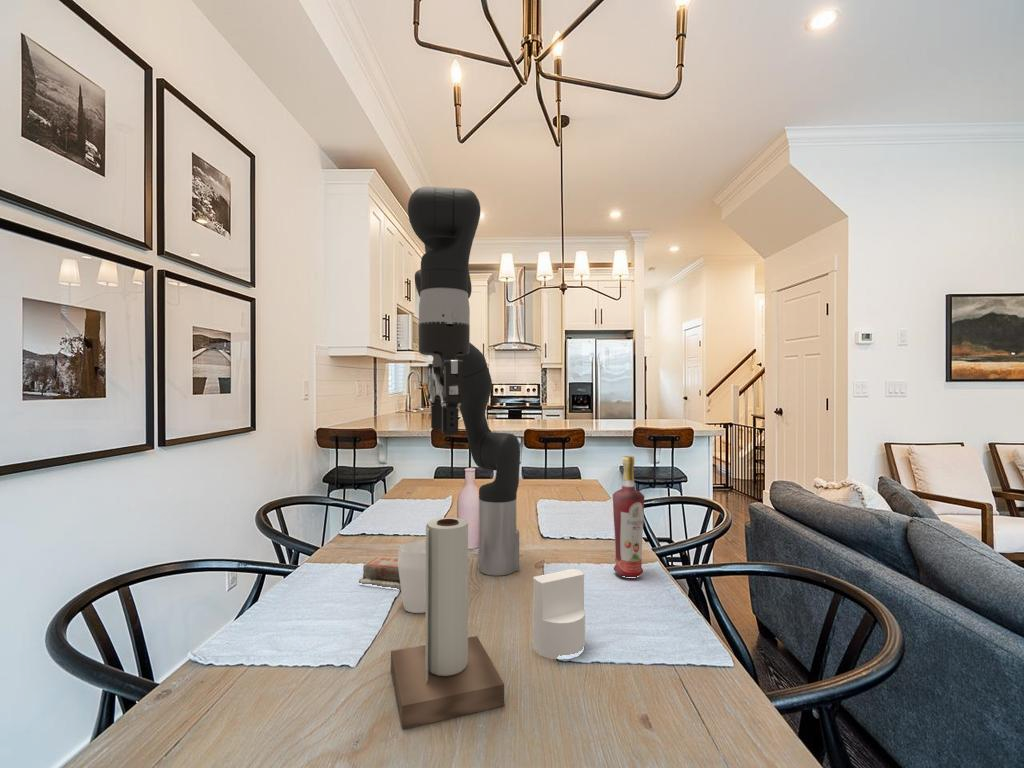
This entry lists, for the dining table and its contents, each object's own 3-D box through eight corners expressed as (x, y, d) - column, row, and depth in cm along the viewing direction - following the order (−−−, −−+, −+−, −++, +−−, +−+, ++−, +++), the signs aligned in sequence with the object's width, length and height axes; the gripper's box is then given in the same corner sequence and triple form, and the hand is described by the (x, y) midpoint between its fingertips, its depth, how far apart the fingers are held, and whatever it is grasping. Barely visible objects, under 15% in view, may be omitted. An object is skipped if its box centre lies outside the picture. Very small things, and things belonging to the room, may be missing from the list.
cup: (450, 600, 102) (450, 542, 102) (429, 619, 93) (429, 556, 93) (412, 594, 105) (412, 538, 105) (388, 612, 96) (388, 551, 96)
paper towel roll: (459, 650, 77) (459, 514, 77) (473, 670, 71) (474, 524, 71) (413, 662, 73) (414, 519, 73) (425, 684, 68) (426, 530, 68)
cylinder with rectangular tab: (550, 665, 78) (550, 590, 78) (523, 639, 86) (523, 571, 86) (595, 651, 82) (595, 580, 82) (565, 628, 90) (566, 563, 90)
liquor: (624, 583, 111) (624, 459, 111) (606, 572, 118) (606, 455, 118) (651, 578, 114) (651, 458, 114) (632, 567, 120) (632, 454, 120)
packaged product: (356, 566, 109) (379, 551, 119) (356, 587, 109) (379, 571, 119) (431, 573, 105) (448, 558, 114) (431, 596, 104) (448, 579, 114)
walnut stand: (477, 654, 81) (477, 635, 81) (504, 705, 68) (504, 684, 68) (390, 670, 76) (390, 651, 76) (402, 729, 63) (402, 706, 63)
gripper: (412, 327, 78) (411, 428, 78) (427, 314, 65) (426, 437, 65) (458, 329, 81) (457, 427, 80) (481, 317, 67) (481, 435, 67)
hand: (443, 431), depth 73 cm, fingers open, 8 cm apart
